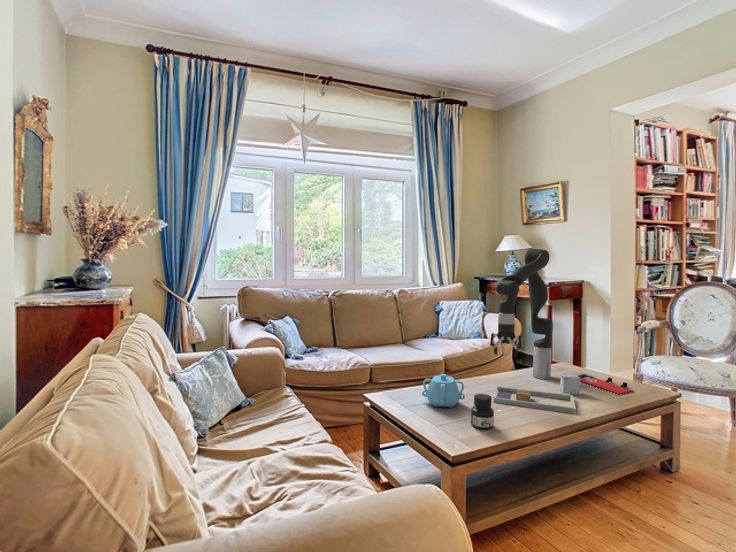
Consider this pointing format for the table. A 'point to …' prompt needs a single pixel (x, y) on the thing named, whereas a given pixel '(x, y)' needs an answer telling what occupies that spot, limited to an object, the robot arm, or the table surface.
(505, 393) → the frame
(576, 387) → the medicine box
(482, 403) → the ink bottle
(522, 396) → the walnut block
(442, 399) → the decorative pot
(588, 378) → the red board with handle
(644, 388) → the table surface
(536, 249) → the robot arm
